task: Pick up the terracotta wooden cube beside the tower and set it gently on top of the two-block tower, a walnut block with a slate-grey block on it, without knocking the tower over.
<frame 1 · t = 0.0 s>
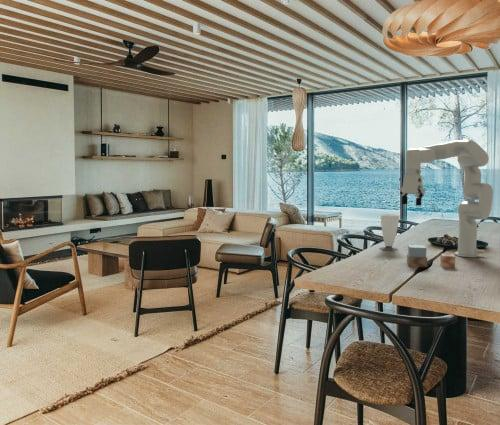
hand: (411, 204, 240), 31 cm above the table, tool pointing down, fingers open, 9 cm apart
terracotta cube: (447, 266, 234), on the table
cup: (388, 249, 282), on the table
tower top: (416, 255, 237), point 5 cm above the table, touching tower base
tower base: (416, 265, 238), on the table, touching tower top
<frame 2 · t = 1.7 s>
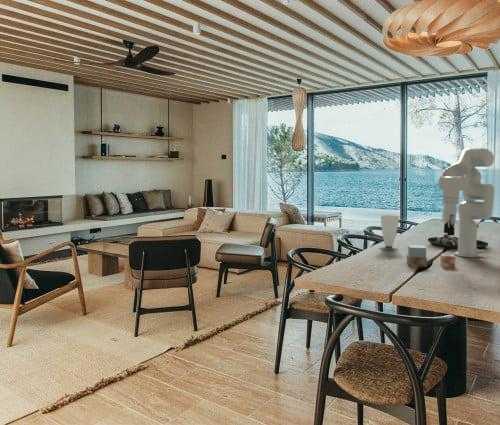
hand: (448, 234, 232), 17 cm above the table, tool pointing down, fingers open, 9 cm apart
nothing on the table moved.
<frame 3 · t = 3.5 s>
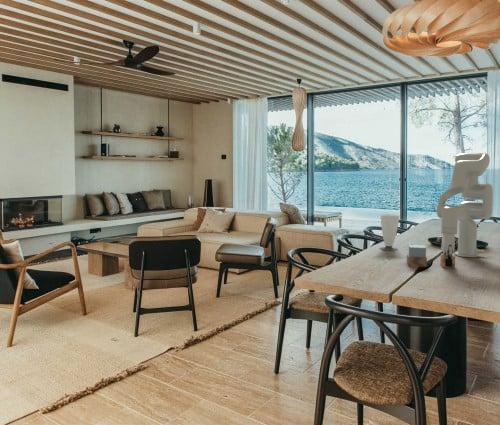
hand: (447, 264, 234), 1 cm above the table, tool pointing down, fingers closed on terracotta cube, 6 cm apart
terracotta cube: (447, 266, 234), on the table, touching gripper
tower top: (417, 255, 238), point 5 cm above the table
tower base: (416, 265, 238), on the table
everything else where it was.
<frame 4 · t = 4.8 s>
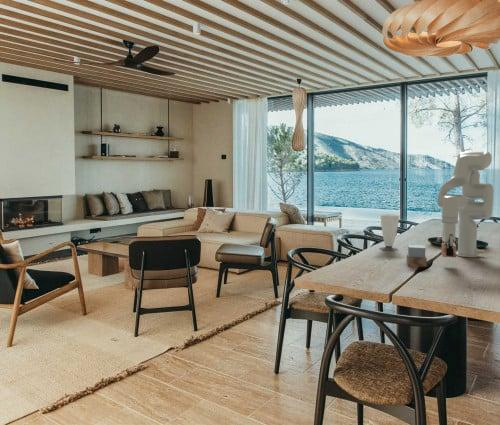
hand: (448, 254, 234), 6 cm above the table, tool pointing down, fingers closed on terracotta cube, 6 cm apart
terracotta cube: (448, 255, 234), point 5 cm above the table, touching gripper
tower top: (416, 255, 238), point 5 cm above the table, touching tower base
tower base: (416, 265, 238), on the table, touching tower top
everything else where it was.
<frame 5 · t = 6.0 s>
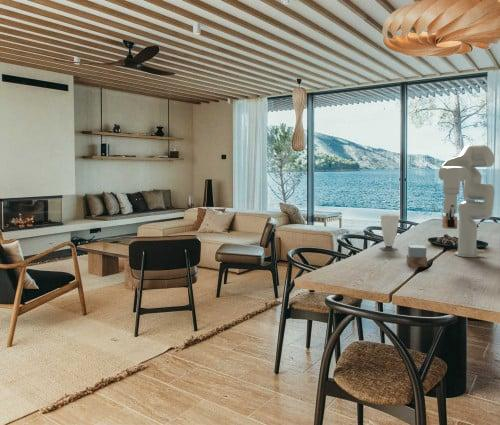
hand: (449, 226, 232), 21 cm above the table, tool pointing down, fingers closed on terracotta cube, 6 cm apart
terracotta cube: (449, 227, 232), point 20 cm above the table, touching gripper
everything else where it was.
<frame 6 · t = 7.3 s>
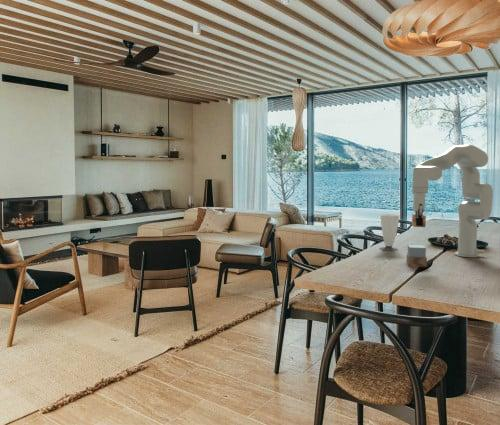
hand: (418, 224, 235), 21 cm above the table, tool pointing down, fingers closed on terracotta cube, 6 cm apart
terracotta cube: (418, 226, 235), point 20 cm above the table, touching gripper
everything else where it was.
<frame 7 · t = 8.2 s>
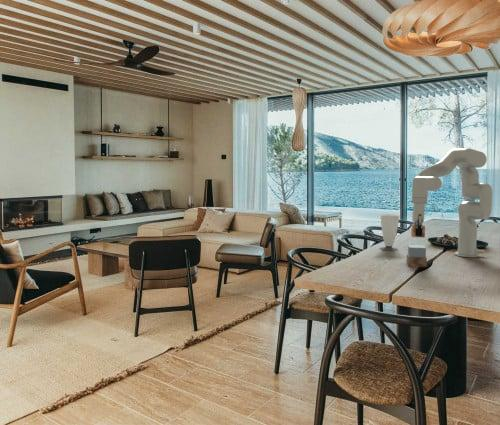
hand: (417, 234, 236), 16 cm above the table, tool pointing down, fingers closed on terracotta cube, 6 cm apart
terracotta cube: (417, 236, 236), point 15 cm above the table, touching gripper
everything else where it was.
when the fingers open (12 cm above the table, at t = 9.7 s): terracotta cube drops 2 cm, resting on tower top.
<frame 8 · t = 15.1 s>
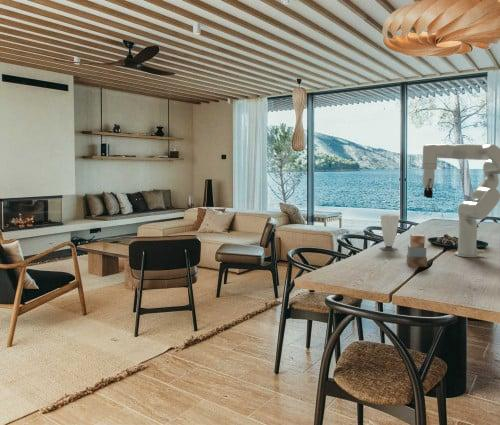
hand: (428, 197, 254), 34 cm above the table, tool pointing down, fingers open, 9 cm apart
terracotta cube: (417, 246, 236), point 10 cm above the table, touching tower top
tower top: (416, 255, 238), point 5 cm above the table, touching terracotta cube
tower base: (416, 265, 238), on the table
everything else where it was.
at the end: terracotta cube 0.7 cm off-centre on the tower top, point 5.0 cm above the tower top's base; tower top tilted 0°; tower base moved 0.4 cm from its start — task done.
